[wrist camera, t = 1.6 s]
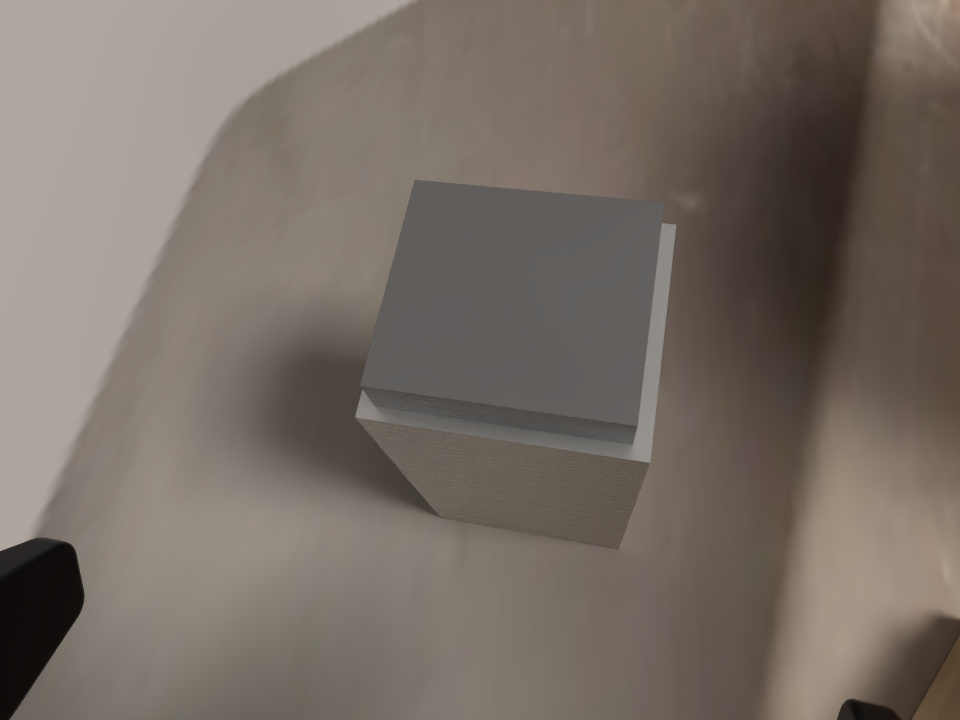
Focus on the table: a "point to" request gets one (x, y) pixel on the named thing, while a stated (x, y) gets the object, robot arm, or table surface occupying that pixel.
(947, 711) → the wooden tray
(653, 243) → the grey lidded container
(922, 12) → the table surface
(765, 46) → the table surface
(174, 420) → the table surface
